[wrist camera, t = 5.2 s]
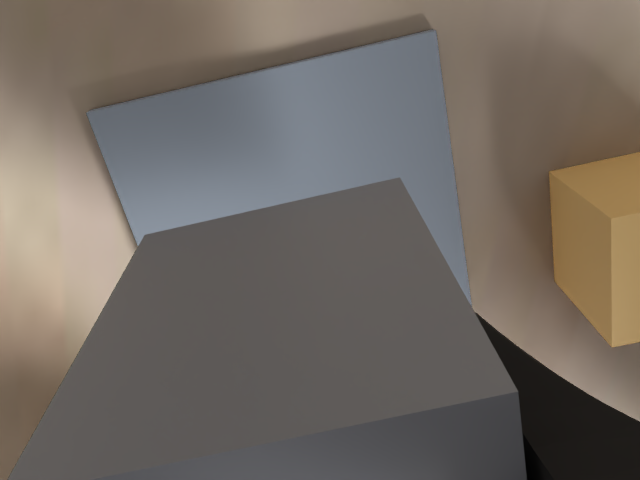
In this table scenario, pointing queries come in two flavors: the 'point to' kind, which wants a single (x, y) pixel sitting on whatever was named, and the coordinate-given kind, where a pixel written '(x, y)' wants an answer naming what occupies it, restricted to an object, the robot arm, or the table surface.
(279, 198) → the slate mat
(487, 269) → the table surface
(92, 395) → the blue-gray cube on pad
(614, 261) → the ochre cube
